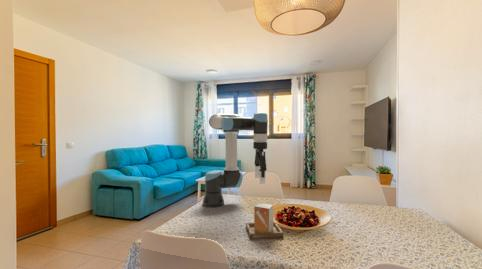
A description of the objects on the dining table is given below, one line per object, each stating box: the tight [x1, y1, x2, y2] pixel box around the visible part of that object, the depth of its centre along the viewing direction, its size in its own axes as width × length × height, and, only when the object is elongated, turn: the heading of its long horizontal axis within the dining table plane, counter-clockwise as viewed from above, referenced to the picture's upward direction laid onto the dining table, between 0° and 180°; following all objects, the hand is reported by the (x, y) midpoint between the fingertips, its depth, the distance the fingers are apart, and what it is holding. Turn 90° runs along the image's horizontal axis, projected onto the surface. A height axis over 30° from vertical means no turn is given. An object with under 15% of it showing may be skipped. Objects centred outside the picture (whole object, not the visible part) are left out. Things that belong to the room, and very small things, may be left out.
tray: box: [245, 222, 284, 241], centre depth 118 cm, size 14×16×2 cm
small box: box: [253, 202, 274, 233], centre depth 117 cm, size 8×6×13 cm
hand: (259, 180), depth 126 cm, fingers open, 13 cm apart
